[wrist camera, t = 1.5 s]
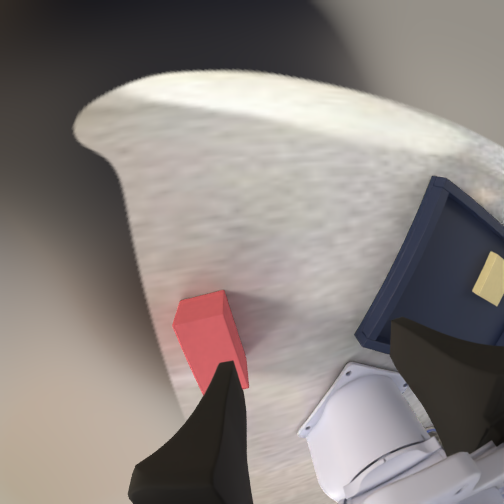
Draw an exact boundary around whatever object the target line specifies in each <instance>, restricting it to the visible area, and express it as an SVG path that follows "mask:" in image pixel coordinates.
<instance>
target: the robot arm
mask: <svg viewBox="0 0 504 504" xmlns="http://www.w3.org/2000/svg"><path fill="white" fill-rule="evenodd" d="M390 357H391V359H392V361H393V363H394V365H395V366H396V368H397V370H398V372H394V371H390V370H385V369H381V368H377V367H373V366H368V365H364V364H360V363H356V362H349V363H348V364H347V365H346V366H345V367H344V369H343V370H342V372H341V373H340V375H339V376H338V378H337V379H336V381H335V382H334V384H333V385H332V386H331V388H330V389H329V391H328V392H327V393H326V395H325V396H324V398H323V399H322V400H321V402H320V403H319V404H318V406H317V407H316V409H315V410H314V411H313V413H312V414H311V415H310V417H309V418H308V419H307V420H306V422H305V423H304V424H303V426H302V427H301V428H300V429H299V431H298V432H297V433H298V436H299V437H302V438H306V439H307V443H308V447H309V450H310V454H311V458H312V461H313V465H314V469H315V472H316V476H317V480H318V482H319V485H320V487H321V488H322V490H323V491H324V492H325V493H326V494H327V495H328V496H329V497H330V498H331V499H333V500H335V501H337V502H338V503H337V504H504V346H493V345H485V344H479V343H474V342H470V341H466V340H462V339H458V338H455V337H452V336H449V335H446V334H444V333H441V332H439V331H436V330H434V329H431V328H429V327H426V326H424V325H422V324H420V323H417V322H415V321H413V320H410V319H408V318H405V317H400V318H397V319H394V320H391V341H390ZM348 371H350V372H349V373H347V372H348ZM408 386H409V387H410V388H411V390H412V391H413V393H414V394H415V395H416V397H417V398H418V399H419V401H420V402H421V404H422V405H423V407H424V408H425V410H426V412H427V414H428V416H429V418H430V420H431V421H432V423H433V425H434V428H435V430H436V432H437V434H438V436H439V438H440V441H441V443H442V445H440V444H439V442H438V441H437V439H436V438H435V436H434V437H432V438H431V437H430V436H429V434H428V433H427V431H426V429H425V428H424V426H423V425H422V423H421V422H420V420H419V419H418V417H417V416H416V414H415V413H414V411H413V410H412V408H411V406H410V405H409V403H408V402H407V400H406V399H405V397H404V396H403V393H404V391H405V390H406V389H407V387H408ZM308 426H309V427H308ZM128 497H129V499H130V500H131V501H132V503H133V504H253V500H252V493H251V487H250V480H249V472H248V464H247V421H246V406H245V398H244V392H243V389H242V386H241V383H240V380H239V377H238V373H237V370H236V367H235V364H234V360H232V361H226V362H221V363H219V364H218V366H217V369H216V371H215V373H214V376H213V378H212V380H211V382H210V384H209V386H208V388H207V390H206V392H205V394H204V396H203V397H202V399H201V401H200V402H199V404H198V406H197V407H196V409H195V410H194V412H193V413H192V415H191V416H190V417H189V419H188V420H187V421H186V422H185V424H184V425H183V426H182V427H181V428H180V429H179V431H178V432H177V433H176V434H175V435H174V436H173V437H172V438H171V439H170V440H169V441H168V442H167V443H165V444H164V445H163V446H162V447H161V448H159V449H158V450H157V451H156V452H154V453H153V454H152V455H150V456H149V457H147V458H146V459H144V460H143V461H141V462H140V463H139V464H137V465H136V466H135V469H134V471H133V474H132V477H131V482H130V486H129V491H128Z"/></svg>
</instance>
